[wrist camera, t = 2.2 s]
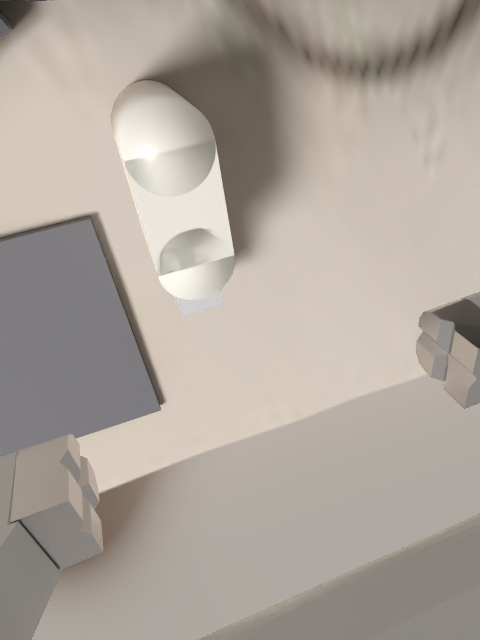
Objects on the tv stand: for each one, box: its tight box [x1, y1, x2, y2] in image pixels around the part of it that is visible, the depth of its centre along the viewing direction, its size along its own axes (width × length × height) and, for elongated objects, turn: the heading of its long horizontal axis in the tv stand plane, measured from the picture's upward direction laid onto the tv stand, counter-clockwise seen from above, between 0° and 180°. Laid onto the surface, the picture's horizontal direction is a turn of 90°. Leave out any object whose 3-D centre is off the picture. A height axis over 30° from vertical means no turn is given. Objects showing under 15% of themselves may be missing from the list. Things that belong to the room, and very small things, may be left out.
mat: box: [0, 216, 161, 457], centre depth 25 cm, size 12×14×1 cm
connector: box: [111, 80, 235, 317], centre depth 21 cm, size 4×11×5 cm, turn 8°
